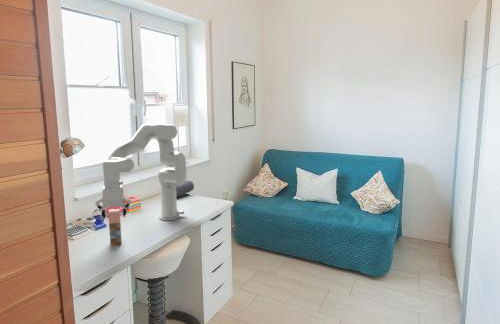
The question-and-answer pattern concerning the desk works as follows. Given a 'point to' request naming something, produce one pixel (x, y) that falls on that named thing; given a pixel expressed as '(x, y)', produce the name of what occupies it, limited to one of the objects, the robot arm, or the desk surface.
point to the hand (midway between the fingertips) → (114, 216)
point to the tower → (115, 234)
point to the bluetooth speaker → (184, 188)
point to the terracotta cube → (114, 216)
